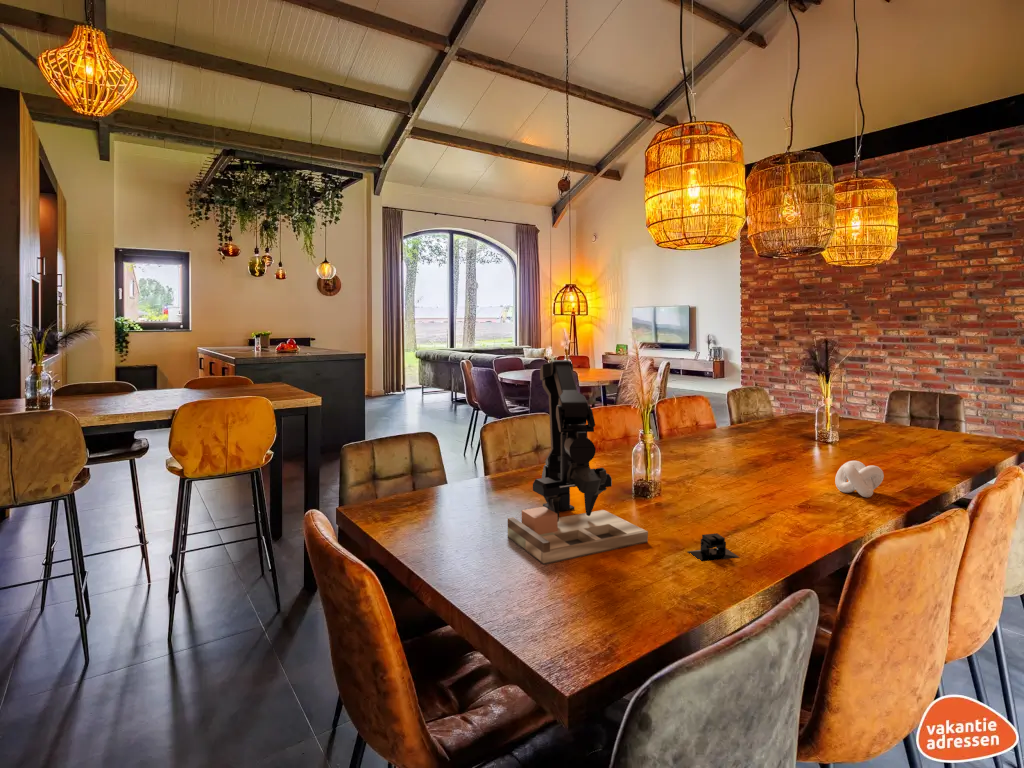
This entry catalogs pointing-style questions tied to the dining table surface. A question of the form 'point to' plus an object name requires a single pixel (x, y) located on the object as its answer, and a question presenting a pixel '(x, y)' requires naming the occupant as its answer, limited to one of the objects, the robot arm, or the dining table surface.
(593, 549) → the trap board
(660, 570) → the dining table surface
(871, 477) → the white knot sculpture
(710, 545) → the black boxy piece
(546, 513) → the terracotta block
